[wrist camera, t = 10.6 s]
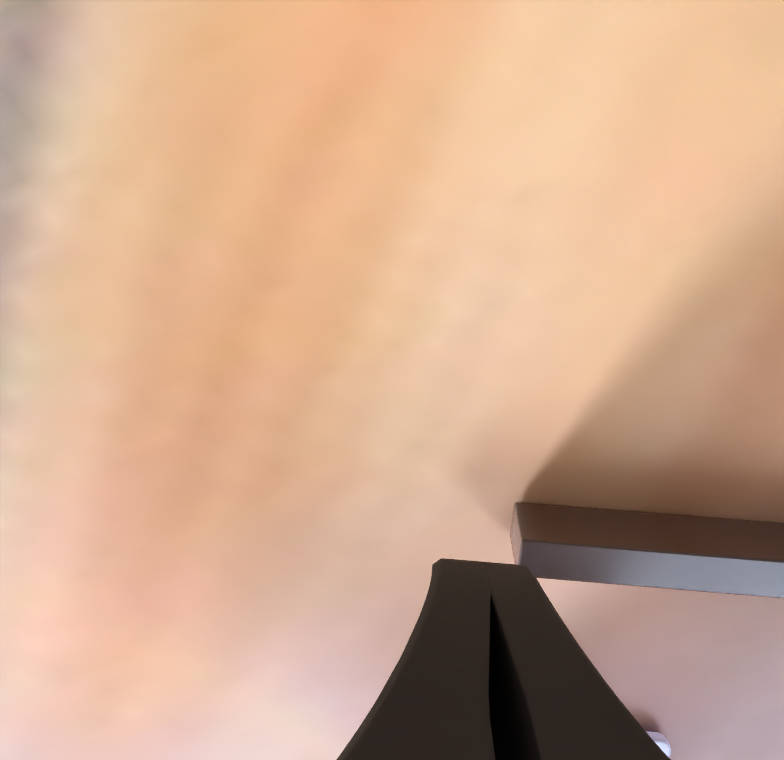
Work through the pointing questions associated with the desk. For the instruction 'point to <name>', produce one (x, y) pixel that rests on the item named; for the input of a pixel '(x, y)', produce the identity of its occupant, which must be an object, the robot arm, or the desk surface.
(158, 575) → the desk surface
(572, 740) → the robot arm
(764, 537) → the bed frame
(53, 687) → the desk surface
